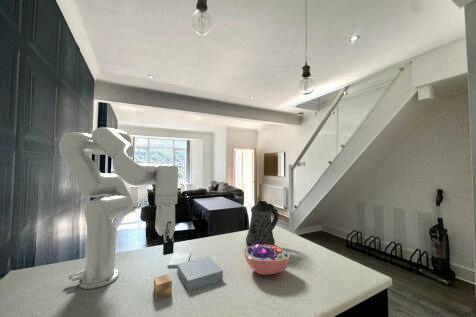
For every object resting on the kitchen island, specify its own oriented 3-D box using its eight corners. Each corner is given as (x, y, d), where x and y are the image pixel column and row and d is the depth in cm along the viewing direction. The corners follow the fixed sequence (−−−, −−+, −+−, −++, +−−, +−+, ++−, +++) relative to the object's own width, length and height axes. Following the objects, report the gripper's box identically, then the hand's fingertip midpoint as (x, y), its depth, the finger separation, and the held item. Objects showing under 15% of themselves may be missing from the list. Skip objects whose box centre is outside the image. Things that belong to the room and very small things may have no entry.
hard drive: (186, 264, 86) (190, 252, 98) (167, 265, 85) (174, 252, 97) (186, 268, 86) (190, 255, 98) (167, 268, 85) (174, 255, 97)
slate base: (187, 292, 69) (188, 280, 69) (177, 273, 81) (177, 264, 81) (222, 280, 76) (222, 270, 77) (208, 265, 88) (208, 256, 88)
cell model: (291, 286, 73) (291, 256, 73) (239, 279, 77) (240, 250, 77) (289, 265, 89) (289, 240, 90) (246, 259, 93) (246, 236, 94)
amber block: (155, 300, 64) (156, 285, 64) (153, 292, 68) (154, 277, 68) (171, 295, 66) (172, 280, 67) (168, 287, 71) (168, 273, 71)
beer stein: (240, 246, 110) (240, 201, 111) (257, 236, 125) (258, 197, 126) (265, 254, 100) (266, 205, 101) (281, 243, 115) (282, 201, 116)
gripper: (151, 197, 74) (149, 242, 73) (159, 204, 60) (158, 261, 59) (171, 195, 78) (170, 239, 77) (184, 202, 64) (182, 255, 63)
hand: (165, 248), depth 68 cm, fingers open, 9 cm apart
